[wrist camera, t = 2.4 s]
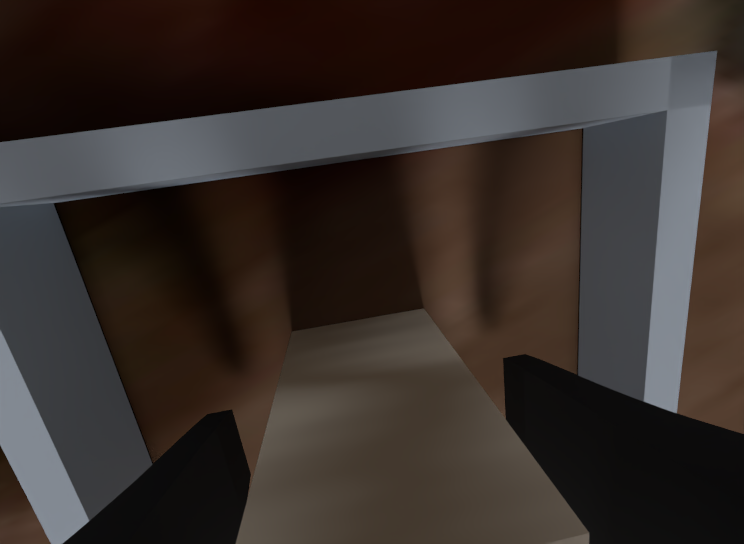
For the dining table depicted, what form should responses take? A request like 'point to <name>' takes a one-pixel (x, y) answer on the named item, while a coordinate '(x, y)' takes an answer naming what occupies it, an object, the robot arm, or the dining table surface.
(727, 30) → the dining table surface
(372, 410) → the block
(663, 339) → the frame
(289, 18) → the dining table surface
